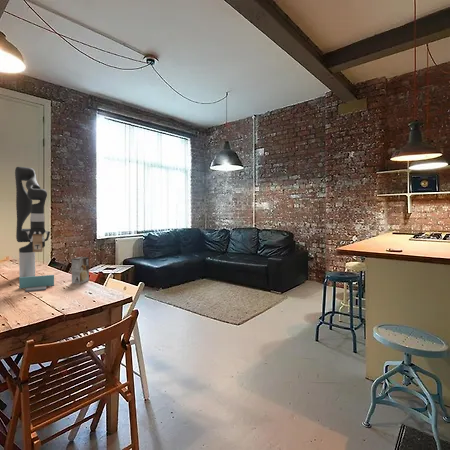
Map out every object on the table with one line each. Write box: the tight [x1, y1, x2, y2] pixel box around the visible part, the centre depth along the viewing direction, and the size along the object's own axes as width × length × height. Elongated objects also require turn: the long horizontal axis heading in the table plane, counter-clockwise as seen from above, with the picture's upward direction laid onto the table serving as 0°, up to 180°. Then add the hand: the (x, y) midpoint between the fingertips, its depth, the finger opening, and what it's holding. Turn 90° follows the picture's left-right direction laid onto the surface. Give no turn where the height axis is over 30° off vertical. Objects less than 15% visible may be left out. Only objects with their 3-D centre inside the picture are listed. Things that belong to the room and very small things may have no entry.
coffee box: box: [71, 256, 90, 285], centre depth 197 cm, size 9×6×16 cm
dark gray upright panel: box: [24, 286, 47, 293], centre depth 178 cm, size 7×10×1 cm
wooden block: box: [33, 234, 44, 253], centre depth 189 cm, size 5×5×11 cm
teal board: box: [18, 274, 55, 289], centre depth 184 cm, size 1×18×6 cm, turn 118°
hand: (37, 247), depth 190 cm, fingers closed on wooden block, 5 cm apart
